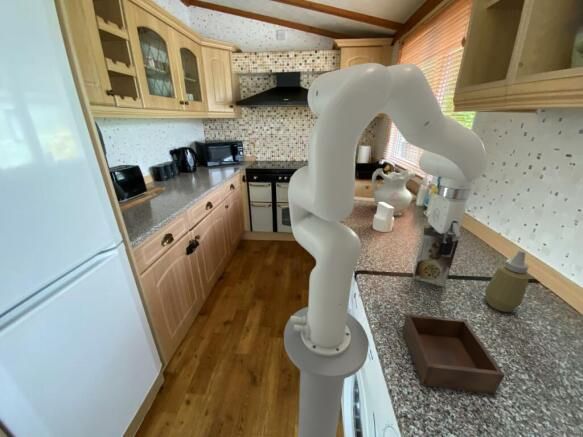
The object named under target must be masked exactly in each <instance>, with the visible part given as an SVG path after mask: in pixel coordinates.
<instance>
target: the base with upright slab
mask: <svg viewBox="0 0 583 437" xmlns="http://www.w3.org/2000/svg"><path fill="white" fill-rule="evenodd" d="M376 206H377V205H376ZM393 212H394V207H392V206H390V205H388V204H387V203H385V202H378V206H377V207H376V213H375V214H374V215H373V221H372V229H373V230H375V231H377V232H380V233H391V232H392V231H393V226H394V220H395V217H394V215H393Z"/></svg>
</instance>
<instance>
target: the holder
mask: <svg viewBox="0 0 583 437" xmlns="http://www.w3.org/2000/svg"><path fill="white" fill-rule="evenodd" d="M404 318H405V319H404V322H403V327H402V329H401V330H402V331H401V332H402V335H403V337H404V340H405V342H406V345H407V348H408V351H409V353H410V357H411V359H412V361H413V364H414V367H415V369H416V372H417V375H418V378H419V380H420V384H421V386H423V387H431V388H441V389H449V390H457V391H464V392H473V393H481V394H490V395H495V394H496V393H497V391H498V389H499V387H500V386H501V383H502V382H503V379H504V378H505V374H504V372H503V371H502V369H501V368H500V366H499V365H498V363H497V362H496V361H495V358H494V357H493V356H492V355H491V354H490V352H489V351H488V349H487V348H486V346H485V345H484V344H483V342H482V340H480V338H479V337H478V335H477V334H476V332H475V331H474V329H473V328H472V327H471V325H470V324H469V323H468V321H467V320H466V319H462V318H450V317H441V316H430V315H420V314H405V317H404Z"/></svg>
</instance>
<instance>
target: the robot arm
mask: <svg viewBox="0 0 583 437" xmlns="http://www.w3.org/2000/svg"><path fill="white" fill-rule="evenodd" d="M307 104H308V107H309V109H310V111H311V113H312V114H313V115H314V116H315V117H317V119H316V121H315V122H314V125H313V127H312V129H311V132H310V134H309V139H308V146H307V147H308V148H307V157H308V158H307V165H304V166H302V167H300V168H298V169H297V170H296V171H295V172H294V173H293V174H292V176H291V177H290V179H289V183H288V186H287V198H288V200H287V201H288V210H289V218H290V225H291V231H292V235H293V237H294V240H295V241H296V242H297V243H298V244H299V245H300V246H301V247H302V248H303V249H304V250H306V251H307V252H308V253H309V255H311V256H312V257H313V258H314V260H315V266H314V267H313V268H312V270H311V272H310V274H309V282H308V286H309V287H308V302H307V304H308V306H307V307H308V312H307V316H303V317H298V316H293V315H290V318H291V319H290V318H289V319H290V324H302V326H299V325H294V331H301V337H302V340H303V343H304V344H305V346H306V347H307V348H308V349H309V350H310V351H312V352H313V353H315V354H317V355H320V356H325V357H334V356H338V355H340V354H342V353H343V352H345V351H346V350H347V348H348V347H349V344H350V340H351V335H350V331H349V328H348V327H347V325H346V320H347V313H349V305H350V298H351V297H350V296H351V290H352V289H351V288H352V282H353V276H354V272H355V268H356V265H357V263H358V260H359V257H360V254H361V252H362V244H361V240H360V238H359V236H358V234H357V233H356V232H355V231H354V230H353V229H352V228H351V227H349V226H347V225H346V224H344V223H342V222H343V221H345V220H347V219H348V218H349V217H350V216H351V214H352V212H353V210H354V209H353V208H354V206H355V205H354V204H355V192H356V154H357V148H358V145H359V142H360V139H361V137H362V135H363V133H364V132H365V131H366V129H367V127H369V125H370V124H371V122H372V121H373V120H374V119H375V118H376V117H378V115H379V114H385V115H387V117H388V118H389V119H390V120H391V122H392V124H393V125H394V126H395V127H396V129H397V130H398V132H399V133H400V134H401V136H402V137H403V138H404V139H405V141H406V142H407V143H408V144H410V145H412V146H414V147H417V148H419V149H421V150H424V151H423V152H422V154H421V155H420V157H419V160H418V166H419V168H420V170H421V171H422V172H423V173H424V174H426V175H429V176H432V177H438V178H440V182H439V185H438V189H437V192H436V195H435V197H434V200H433V202H432V205H431V208H430V211H429V214H428V218H427V223H428V224H429V225H428V228H431V229H435V230H436V231H437V232H439V233H440V234H442V233H443V242H441V243H440V246H439V250H438V254H439V255H450V253H451V250H452V246H453V244H455V242H457V240H458V241H459V239H460V238H461V237H462V235H461V232H460V229H461V227H462V223H463V219H464V215H465V211H466V205H467V202H468V200H469V197H470V193H471V191H472V187H473V184H474V182H475V181H477V180H479V179H480V178H481V177H483V175H484V174H485V172H486V169H487V166H488V154H487V151H486V148H485V146H484V143H483V141H482V139H481V137H479V135H478V134H477V133H475V132H474V131H473V130H472V129H470V128H469V127H467V126H465V125H464V124H462V123H461V122H459V121H457V120H455V119H454V118H453V117H450V116H448V115H446V114H445V113H444V111H443V109H442V106H441V105H440V103H439V102H438V99H437V97H436V95H435V93H434V91H433V89H432V87H431V84H430V83H429V81H428V79H427V77H426V76H425V73H424V72H423V70H422V69H421V68H420V67H419V66H417V65H416V64H414V63H399V64H393V65H388V66H385V65H384V64H381V63H378V62H366V63H359V64H354V65H349V66H346V67H344V68H340V69H336V70H332V71H327V72H324V73H321V74H320V75H318V76H317V77H315V79H314V80H313V81H312V82H311V84H310V86H309V88H308V92H307ZM447 231H448V232H447ZM447 235H451V237H449V238H447Z"/></svg>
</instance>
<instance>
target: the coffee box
mask: <svg viewBox="0 0 583 437" xmlns="http://www.w3.org/2000/svg"><path fill="white" fill-rule="evenodd" d="M422 231H423V232H422V236H421V239H420V243H419V246H418V247H419V248H418V251H417V256H416V260H415V264H414V266H413V267H414V268H413V275H412V279H414V280H417V281H421V282H425V283H429V284H433V285H436V286H440V287H443V288H445V287H446V284H447V280H448V278H449V274H450V271H451V268H452V265H453V261H454V258H455V255H456V251H457V248H458V245H459V242H460V240H459V239H458V240H457V242H455V244H453V246H452V250H451V253H450V255H439V254H438V250H439V246H440V243H441V242H443V233H442V234H440V233H439V232H437V231H436V230H435V229H431V228H429V227H423V230H422ZM447 232H449V231H447ZM449 237H451V235H447V238H449Z"/></svg>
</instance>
